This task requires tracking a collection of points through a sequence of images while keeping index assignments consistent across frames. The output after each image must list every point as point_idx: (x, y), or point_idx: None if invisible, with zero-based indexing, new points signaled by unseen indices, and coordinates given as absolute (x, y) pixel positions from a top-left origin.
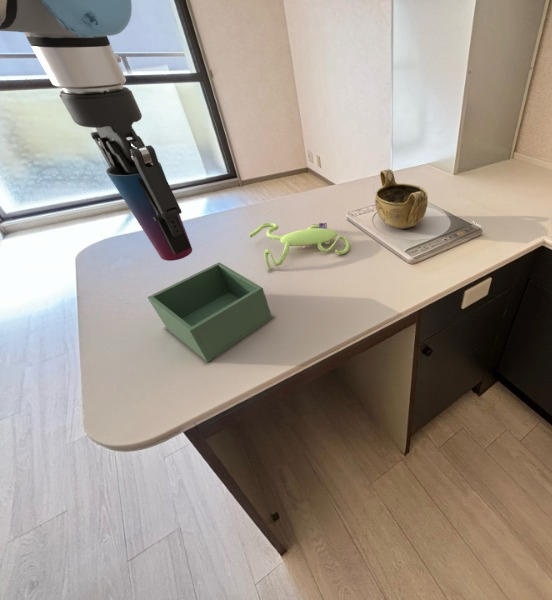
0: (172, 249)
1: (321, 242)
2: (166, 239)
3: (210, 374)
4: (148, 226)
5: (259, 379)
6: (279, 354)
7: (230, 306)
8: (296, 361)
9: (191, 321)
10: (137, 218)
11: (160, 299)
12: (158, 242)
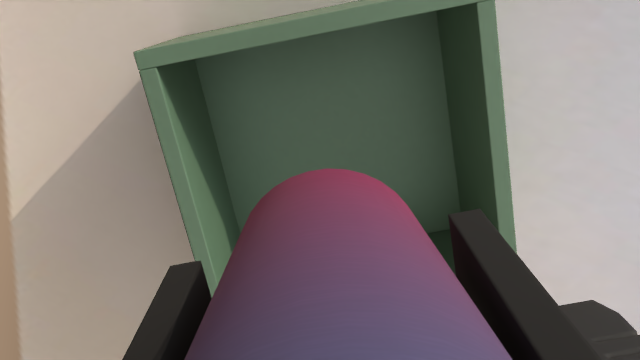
0: (172, 282)
1: None
2: (177, 321)
3: (122, 24)
4: (207, 334)
5: (12, 130)
6: (74, 217)
7: (185, 223)
8: (17, 240)
9: (398, 66)
10: (277, 338)
11: (470, 20)
12: (242, 253)
